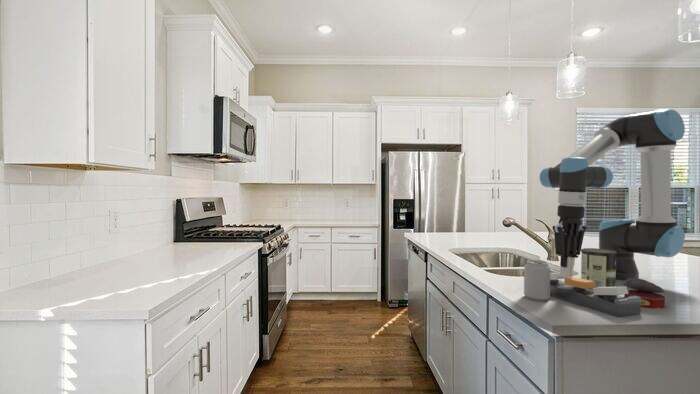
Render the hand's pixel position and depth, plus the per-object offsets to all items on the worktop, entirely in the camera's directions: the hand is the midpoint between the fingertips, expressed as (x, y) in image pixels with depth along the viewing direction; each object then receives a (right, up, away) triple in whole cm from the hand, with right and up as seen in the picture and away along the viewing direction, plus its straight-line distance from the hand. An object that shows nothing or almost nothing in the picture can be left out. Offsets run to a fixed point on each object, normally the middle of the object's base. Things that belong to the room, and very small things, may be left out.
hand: (566, 276), depth 119 cm
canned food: (+20, -7, -6) cm, 23 cm away
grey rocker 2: (+6, -2, -12) cm, 14 cm away
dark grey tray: (+2, -7, -3) cm, 8 cm away
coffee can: (+16, -7, +8) cm, 19 cm away
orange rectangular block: (+2, -2, -3) cm, 4 cm away
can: (-11, -7, -1) cm, 13 cm away
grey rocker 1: (-2, -1, +5) cm, 6 cm away
